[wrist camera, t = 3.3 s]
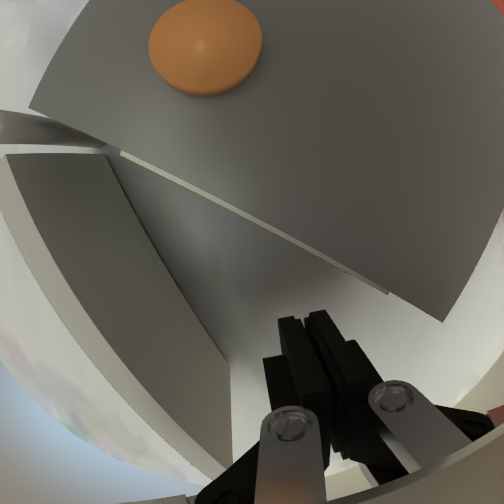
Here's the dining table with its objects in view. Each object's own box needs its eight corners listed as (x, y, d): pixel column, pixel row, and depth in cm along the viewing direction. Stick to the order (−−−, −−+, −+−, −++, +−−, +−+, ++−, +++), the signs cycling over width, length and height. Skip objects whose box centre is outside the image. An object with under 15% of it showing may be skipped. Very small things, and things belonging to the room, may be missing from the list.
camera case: (237, -40, 11) (246, -146, 2) (454, 96, 14) (564, 81, 5) (118, 134, 13) (7, 113, 5) (370, 267, 16) (467, 349, 8)
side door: (100, 124, 13) (2, 102, 5) (237, 363, 17) (244, 472, 10) (78, 140, 13) (-26, 135, 6) (215, 372, 17) (211, 480, 10)
